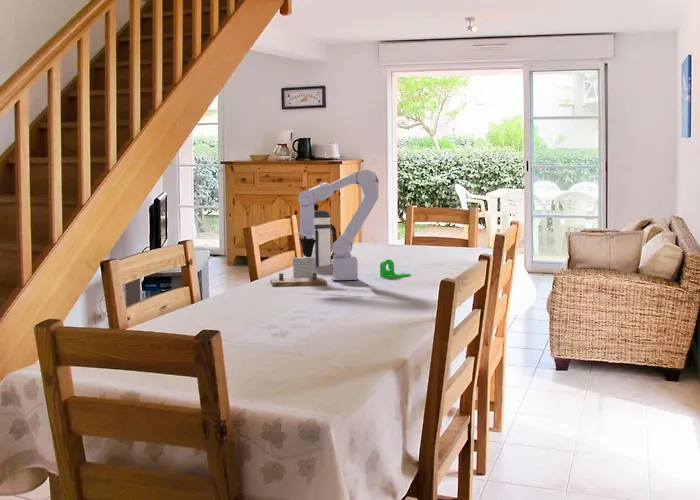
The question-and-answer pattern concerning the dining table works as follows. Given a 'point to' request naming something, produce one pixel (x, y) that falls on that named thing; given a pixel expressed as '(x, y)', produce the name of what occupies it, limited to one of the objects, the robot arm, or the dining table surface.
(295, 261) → the medicine box
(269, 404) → the dining table surface
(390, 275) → the mechanical part
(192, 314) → the dining table surface
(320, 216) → the coffee press
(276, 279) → the walnut board
